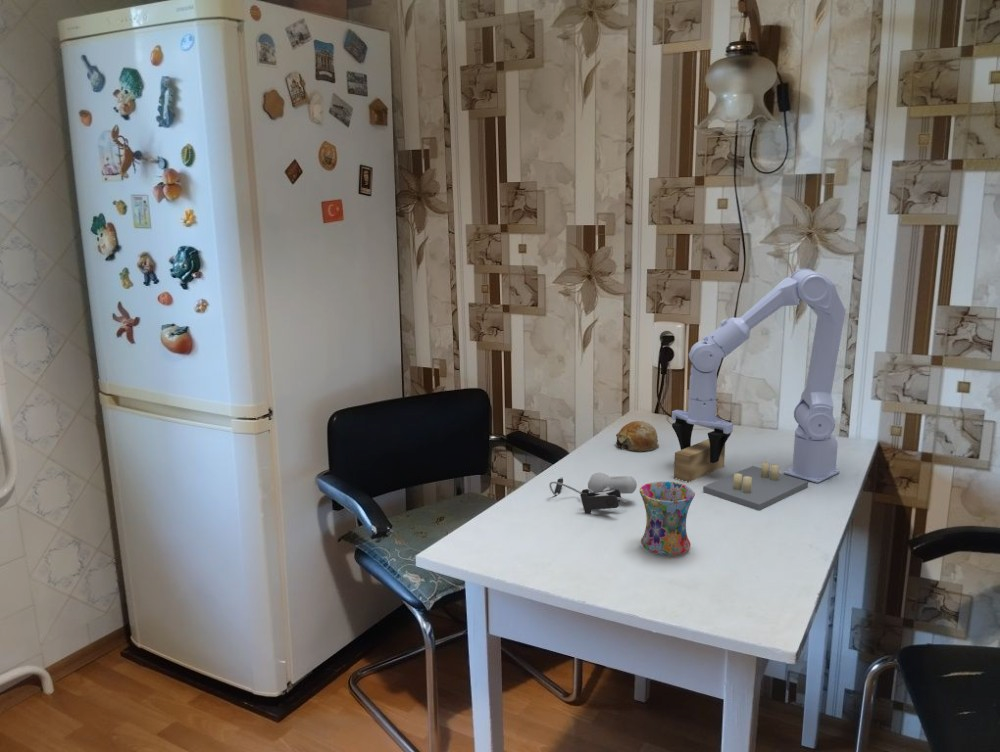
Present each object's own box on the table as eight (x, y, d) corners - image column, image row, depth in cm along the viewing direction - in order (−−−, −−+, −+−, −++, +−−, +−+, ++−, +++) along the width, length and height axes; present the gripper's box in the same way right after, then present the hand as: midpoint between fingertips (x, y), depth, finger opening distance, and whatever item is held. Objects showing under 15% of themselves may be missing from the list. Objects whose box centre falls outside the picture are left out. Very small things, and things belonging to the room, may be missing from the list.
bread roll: (653, 467, 189) (669, 437, 187) (615, 450, 188) (630, 420, 186) (647, 453, 199) (661, 425, 197) (610, 437, 198) (624, 408, 196)
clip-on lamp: (540, 515, 161) (617, 517, 150) (532, 486, 160) (609, 485, 149) (570, 492, 170) (645, 491, 159) (562, 464, 169) (637, 462, 158)
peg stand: (752, 470, 175) (753, 452, 174) (807, 486, 165) (809, 467, 164) (703, 491, 164) (703, 472, 163) (758, 510, 154) (760, 490, 153)
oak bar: (710, 463, 181) (711, 437, 179) (724, 466, 178) (725, 441, 177) (673, 478, 172) (674, 452, 170) (688, 483, 169) (689, 456, 168)
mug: (688, 563, 133) (691, 504, 131) (633, 555, 136) (634, 497, 134) (697, 534, 144) (700, 479, 142) (646, 527, 147) (647, 473, 145)
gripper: (663, 394, 174) (661, 453, 177) (720, 407, 163) (716, 470, 166) (683, 388, 178) (681, 446, 181) (740, 401, 167) (736, 462, 171)
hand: (699, 457), depth 174 cm, fingers open, 7 cm apart
